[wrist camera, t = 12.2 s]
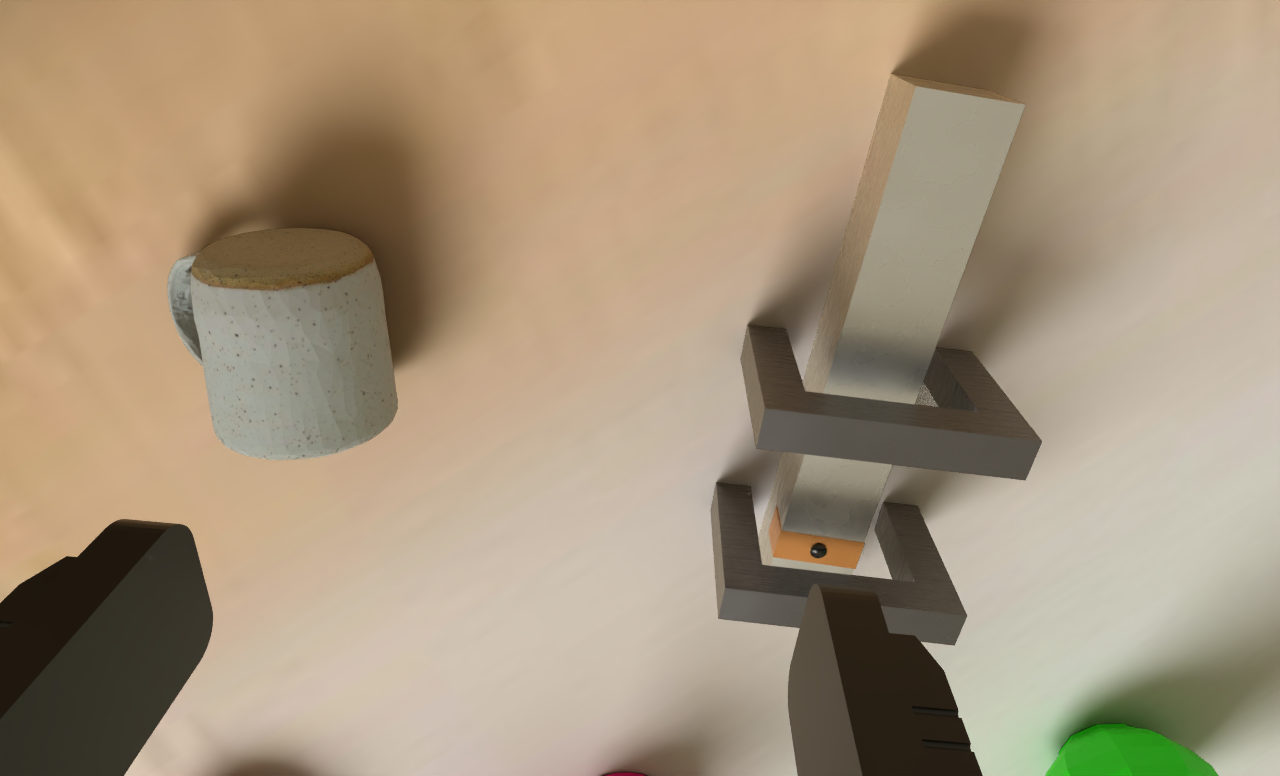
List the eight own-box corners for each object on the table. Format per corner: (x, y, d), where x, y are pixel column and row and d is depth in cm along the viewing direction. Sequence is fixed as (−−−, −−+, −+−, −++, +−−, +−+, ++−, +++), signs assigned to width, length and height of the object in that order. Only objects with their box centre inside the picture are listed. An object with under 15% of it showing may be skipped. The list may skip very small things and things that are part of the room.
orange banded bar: (887, 72, 31) (915, 86, 27) (987, 89, 31) (1028, 105, 28) (747, 566, 43) (754, 621, 40) (819, 576, 44) (832, 632, 40)
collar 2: (716, 482, 40) (725, 592, 33) (917, 506, 41) (968, 619, 34) (710, 510, 41) (718, 622, 34) (907, 533, 41) (956, 649, 34)
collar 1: (747, 324, 36) (765, 408, 29) (972, 351, 36) (1042, 441, 29) (740, 359, 37) (756, 448, 30) (960, 385, 37) (1025, 480, 30)
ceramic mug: (399, 221, 34) (329, 282, 28) (420, 384, 38) (362, 473, 32) (165, 212, 35) (39, 270, 28) (209, 375, 39) (108, 460, 32)
